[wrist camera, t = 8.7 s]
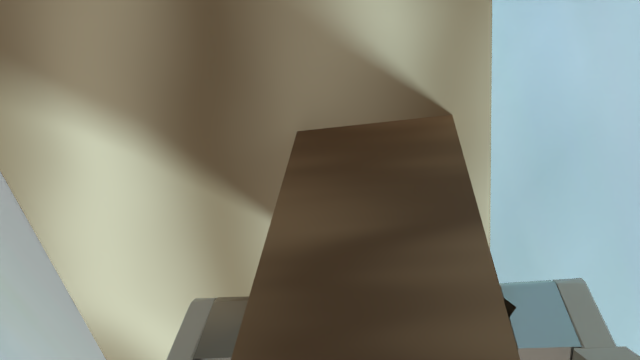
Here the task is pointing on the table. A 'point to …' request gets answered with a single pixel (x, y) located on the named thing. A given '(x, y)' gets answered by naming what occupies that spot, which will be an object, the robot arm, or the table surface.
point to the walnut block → (376, 253)
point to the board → (207, 131)
